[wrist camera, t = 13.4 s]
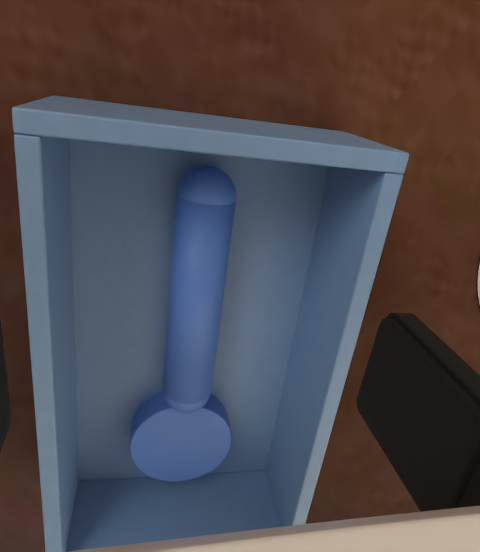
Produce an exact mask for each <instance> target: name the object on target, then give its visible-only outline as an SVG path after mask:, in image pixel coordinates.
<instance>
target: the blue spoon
mask: <svg viewBox="0 0 480 552" xmlns="http://www.w3.org/2000/svg"><path fill="white" fill-rule="evenodd" d="M235 205H236V190H235V187H234V184H233V182H232V180H231V179H230V177H229V176H228V175H227V174H226V173H225V172H223V171H222V170H220V169H218V168H216V167H213V166H199V167H196V168H194V169H192V170H190V171H189V172H187V173H186V174H185V175H184V176H183V178H182V179H181V181H180V183H179V185H178V189H177V195H176V209H175V222H174V236H173V250H172V264H171V277H170V291H169V305H168V319H167V332H166V346H165V360H164V374H163V387H162V388H163V392H161V393H158V394H156V395H155V396H153V397H151V398H150V399H148V400H147V401H146V402H144V403H143V404H142V405H141V406H140V408H139V409H138V410H137V412H136V413H135V415H134V417H133V420H132V423H131V434H130V454H131V458H132V460H133V462H134V463H135V465H136V466H137V467H138V468H139V470H141V471H142V472H143V473H145V474H146V475H148V476H150V477H152V478H155V479H158V480H163V481H171V482H176V481H186V480H191V479H194V478H198V477H200V476H203V475H205V474H207V473H209V472H210V471H212V470H213V469H214V468H216V467H217V466H218V465H219V464H220V463H221V462H222V461H223V460H224V459H225V457H226V456H227V454H228V452H229V449H230V446H231V441H232V435H231V429H230V425H229V420H228V416H227V412H226V410H225V408H224V406H223V405H222V403H221V402H220V401H219V400H218V399H217V398H216V397H214V396H213V395H211V390H212V382H213V374H214V366H215V359H216V351H217V343H218V336H219V328H220V320H221V313H222V305H223V297H224V289H225V282H226V274H227V266H228V259H229V251H230V243H231V235H232V228H233V220H234V212H235Z"/></svg>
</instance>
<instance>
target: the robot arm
mask: <svg viewBox="0 0 480 552" xmlns="http://www.w3.org/2000/svg"><path fill="white" fill-rule="evenodd" d="M357 407H358V410H359V412H360V414H361V416H362V417H363V419H364V420H365V422H366V424H367V425H368V427H369V429H370V430H371V432H372V433H373V435H374V437H375V438H376V440H377V441H378V443H379V445H380V446H381V448H382V450H383V451H384V453H385V454H386V456H387V458H388V459H389V461H390V463H391V464H392V466H393V467H394V469H395V471H396V472H397V474H398V475H399V477H400V479H401V480H402V482H403V484H404V485H405V487H406V488H407V490H408V492H409V493H410V495H411V496H412V498H413V500H414V501H415V503H416V505H417V506H418V508H419V509H420V511H421V512H413V513H404V514H394V515H384V516H375V517H366V518H357V519H347V520H338V521H329V522H320V523H311V524H302V525H293V526H284V527H275V528H266V529H257V530H248V531H239V532H230V533H221V534H213V535H204V536H196V537H187V538H178V539H170V540H161V541H153V542H144V543H136V544H127V545H118V546H110V547H101V548H93V549H84V550H76V551H69V552H480V376H479V375H478V374H477V373H476V372H475V371H474V370H473V369H472V368H471V367H470V366H469V365H467V364H466V363H465V362H464V361H463V360H462V359H461V358H460V357H459V356H458V355H457V354H456V353H455V352H454V351H453V350H451V349H450V348H449V347H448V346H447V345H446V344H445V343H444V342H443V341H442V340H441V339H440V338H439V337H438V336H437V335H435V334H434V333H433V332H432V331H431V330H430V329H429V328H428V327H427V326H426V325H425V324H424V323H423V322H422V321H420V320H419V319H418V318H417V317H416V316H415V315H414V314H411V313H391V314H389V315H388V316H387V317H386V318H385V319H383V320H382V321H381V323H380V326H379V329H378V332H377V335H376V339H375V342H374V345H373V348H372V351H371V355H370V358H369V361H368V364H367V368H366V371H365V374H364V377H363V380H362V384H361V387H360V390H359V393H358V396H357ZM10 418H11V409H10V400H9V392H8V383H7V374H6V366H5V357H4V348H3V339H2V331H1V322H0V451H1V448H2V445H3V443H4V440H5V437H6V434H7V431H8V428H9V424H10Z"/></svg>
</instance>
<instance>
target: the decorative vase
mask: <svg viewBox="0 0 480 552" xmlns="http://www.w3.org/2000/svg"><path fill="white" fill-rule="evenodd" d="M478 298H479V304H480V264H479V271H478Z"/></svg>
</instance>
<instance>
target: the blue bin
mask: <svg viewBox="0 0 480 552" xmlns="http://www.w3.org/2000/svg"><path fill="white" fill-rule="evenodd" d="M12 119H13V130H14V132H15V133H17V134H15V135H14V145H15V158H16V171H17V184H18V197H19V210H20V223H21V236H22V249H23V263H24V276H25V289H26V302H27V315H28V328H29V341H30V354H31V367H32V380H33V393H34V406H35V419H36V432H37V445H38V458H39V471H40V484H41V497H42V510H43V523H44V536H45V549H46V552H69V551H76V550H84V549H93V548H101V547H110V546H118V545H127V544H136V543H144V542H153V541H161V540H170V539H178V538H187V537H196V536H204V535H213V534H221V533H230V532H239V531H248V530H257V529H266V528H275V527H284V526H293V525H302V524H305V522H306V519H307V515H308V512H309V508H310V505H311V501H312V498H313V494H314V490H315V487H316V483H317V480H318V476H319V473H320V469H321V466H322V462H323V459H324V455H325V452H326V448H327V444H328V441H329V437H330V434H331V430H332V427H333V423H334V420H335V416H336V413H337V409H338V406H339V402H340V398H341V395H342V391H343V388H344V384H345V381H346V377H347V374H348V370H349V367H350V363H351V360H352V356H353V352H354V349H355V345H356V342H357V338H358V335H359V331H360V328H361V324H362V321H363V317H364V314H365V310H366V306H367V303H368V299H369V296H370V292H371V289H372V285H373V282H374V278H375V275H376V271H377V268H378V264H379V260H380V257H381V253H382V250H383V246H384V243H385V239H386V236H387V232H388V229H389V225H390V222H391V218H392V214H393V211H394V207H395V204H396V200H397V197H398V193H399V190H400V186H401V183H402V179H403V175H402V174H403V173H404V172H405V168H406V165H407V161H408V158H409V153H407V152H404V151H401V150H398V149H395V148H392V147H389V146H386V145H383V144H380V143H377V142H374V141H371V140H368V139H365V138H362V137H359V136H356V135H353V134H350V133H347V132H343V131H335V130H327V129H319V128H311V127H303V126H295V125H287V124H279V123H271V122H263V121H255V120H247V119H239V118H231V117H223V116H215V115H207V114H199V113H191V112H183V111H175V110H167V109H159V108H151V107H143V106H135V105H127V104H118V103H110V102H102V101H94V100H86V99H78V98H70V97H62V96H50V97H47V98H43V99H40V100H36V101H33V102H29V103H26V104H22V105H19V106H15V107H13V108H12ZM199 166H213V167H216V168H218V169H220V170H222V171H223V172H225V173H226V174H227V175H228V176H229V177H230V179H231V180H232V182H233V184H234V187H235V190H236V205H235V212H234V220H233V228H232V235H231V243H230V251H229V259H228V266H227V274H226V282H225V289H224V297H223V305H222V313H221V320H220V328H219V336H218V343H217V351H216V359H215V366H214V374H213V382H212V390H211V395H213V396H214V397H216V398H217V399H218V400H219V401H220V402H221V403H222V405H223V406H224V408H225V410H226V412H227V416H228V420H229V425H230V429H231V435H232V441H231V446H230V449H229V452H228V454H227V456H226V457H225V459H224V460H223V461H222V462H221V463H220V464H219V465H218V466H217V467H216V468H214V469H213V470H212V471H210V472H209V473H207V474H205V475H203V476H200V477H198V478H194V479H191V480H186V481H176V482H171V481H163V480H158V479H155V478H152V477H150V476H148V475H146V474H145V473H143V472H142V471H141V470H139V468H138V467H137V466H136V465H135V463H134V462H133V460H132V458H131V454H130V434H131V423H132V420H133V417H134V415H135V413H136V412H137V410H138V409H139V408H140V406H141V405H142V404H143V403H144V402H146V401H147V400H148V399H150V398H151V397H153V396H155V395H156V394H158V393H161V392H163V388H162V387H163V374H164V360H165V346H166V332H167V319H168V305H169V291H170V277H171V264H172V250H173V236H174V222H175V209H176V195H177V189H178V185H179V183H180V181H181V179H182V178H183V176H184V175H185V174H186V173H187V172H189V171H190V170H192V169H194V168H196V167H199Z"/></svg>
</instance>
